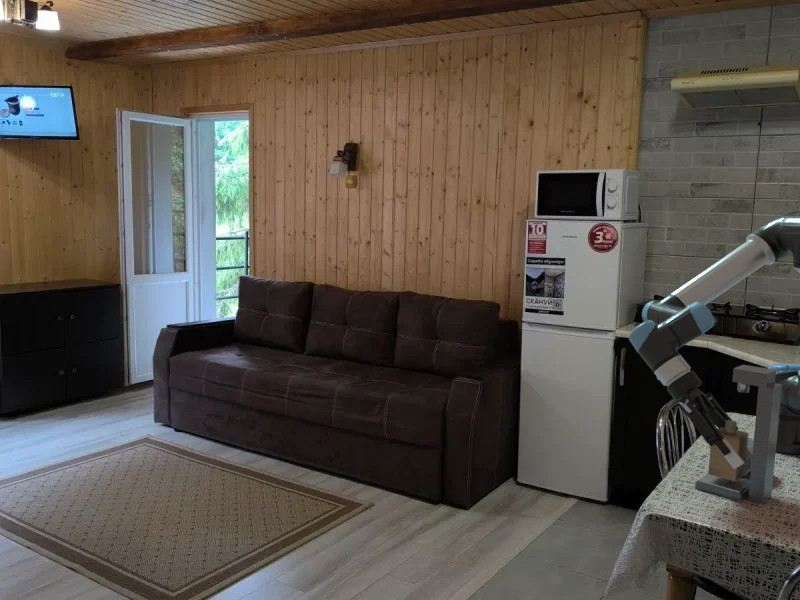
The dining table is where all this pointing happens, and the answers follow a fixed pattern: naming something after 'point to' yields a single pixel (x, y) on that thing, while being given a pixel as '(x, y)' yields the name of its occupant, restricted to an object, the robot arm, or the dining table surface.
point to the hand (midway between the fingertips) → (744, 462)
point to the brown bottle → (719, 462)
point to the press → (763, 439)
